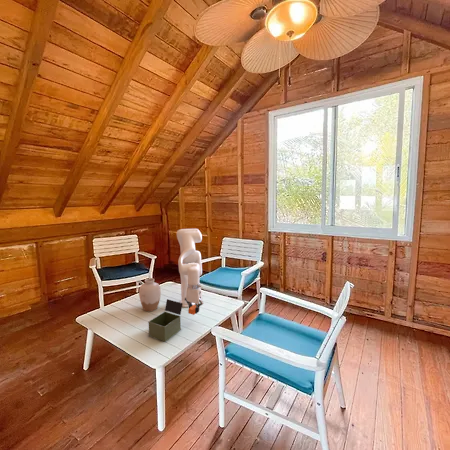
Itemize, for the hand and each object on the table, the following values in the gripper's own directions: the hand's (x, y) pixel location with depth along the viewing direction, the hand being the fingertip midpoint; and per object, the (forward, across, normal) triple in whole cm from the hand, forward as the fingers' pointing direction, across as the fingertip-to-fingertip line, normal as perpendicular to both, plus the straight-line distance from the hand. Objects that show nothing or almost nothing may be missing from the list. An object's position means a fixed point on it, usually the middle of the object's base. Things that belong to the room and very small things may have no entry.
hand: (193, 311), depth 166 cm
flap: (-3, +12, +7) cm, 14 cm away
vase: (+11, +43, -4) cm, 45 cm away
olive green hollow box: (+10, +11, +16) cm, 22 cm away
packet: (0, 0, 0) cm, 0 cm away
